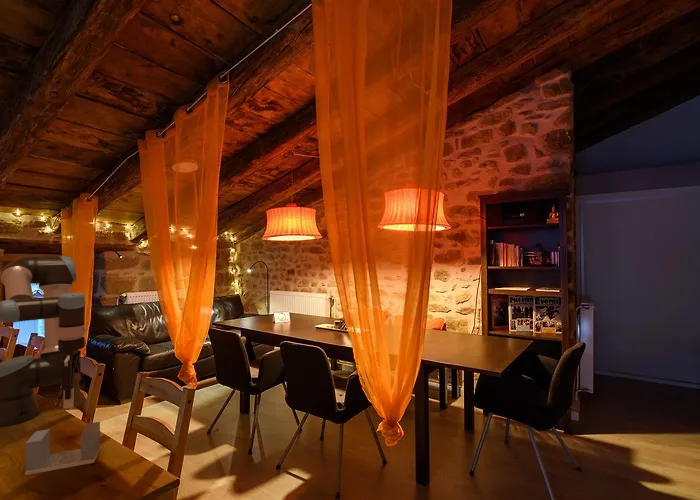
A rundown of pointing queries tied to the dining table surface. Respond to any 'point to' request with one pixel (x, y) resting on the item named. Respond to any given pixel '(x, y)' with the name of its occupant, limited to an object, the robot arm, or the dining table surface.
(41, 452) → the block
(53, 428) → the dining table surface
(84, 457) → the vise
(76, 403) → the wooden pawn
